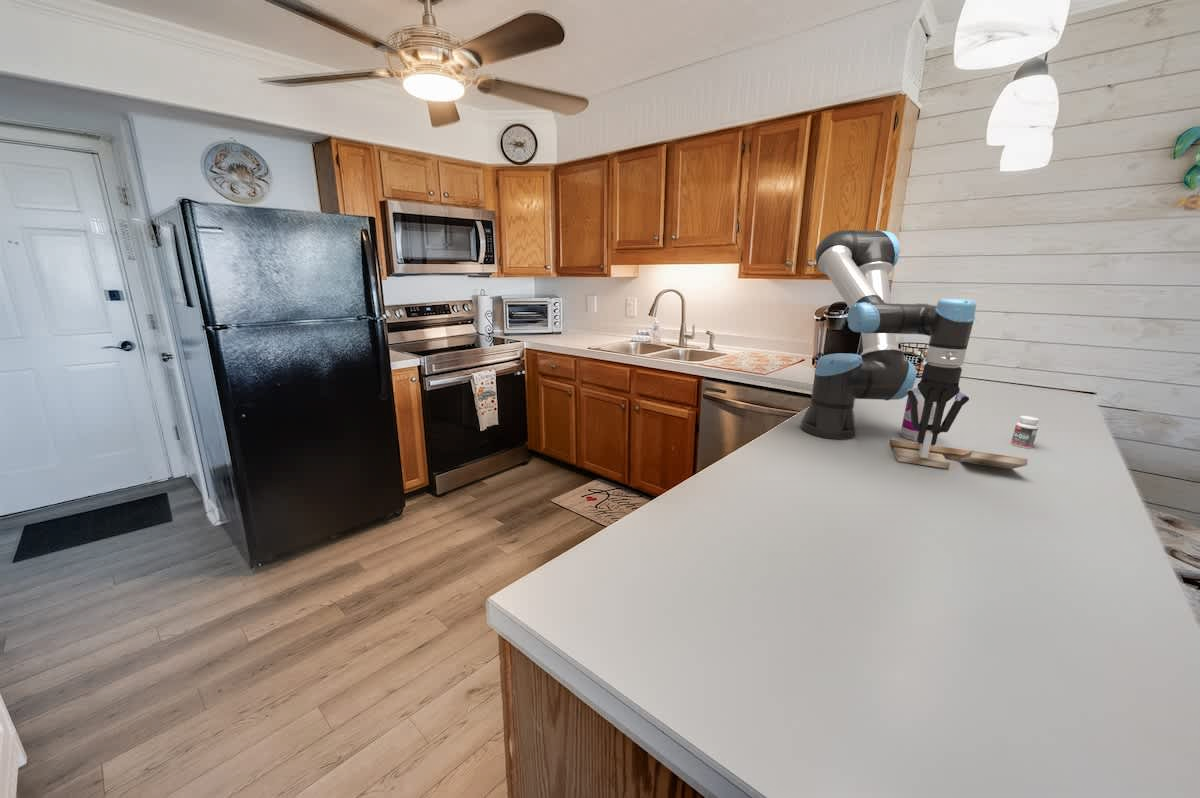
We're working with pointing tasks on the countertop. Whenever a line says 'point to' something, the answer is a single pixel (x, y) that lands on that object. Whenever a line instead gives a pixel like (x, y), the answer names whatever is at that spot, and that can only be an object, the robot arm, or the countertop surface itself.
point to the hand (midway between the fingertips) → (923, 455)
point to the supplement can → (907, 427)
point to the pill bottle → (1025, 432)
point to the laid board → (931, 449)
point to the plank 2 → (993, 460)
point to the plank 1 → (915, 458)
